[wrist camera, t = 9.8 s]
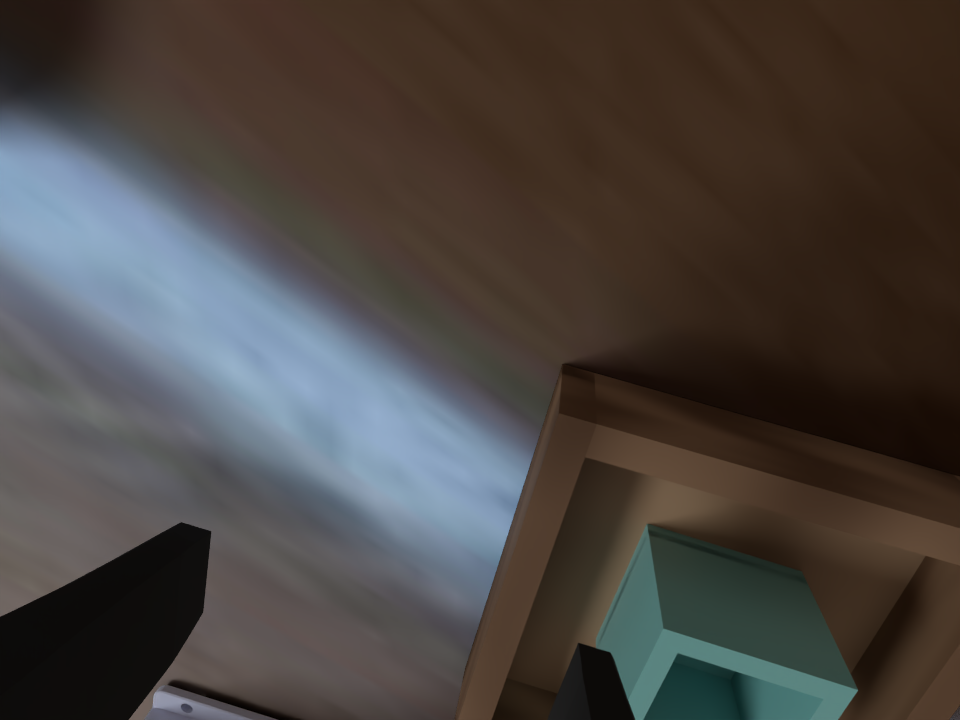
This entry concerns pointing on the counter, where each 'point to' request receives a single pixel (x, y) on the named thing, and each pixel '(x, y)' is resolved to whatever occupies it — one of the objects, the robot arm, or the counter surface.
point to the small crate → (720, 637)
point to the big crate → (720, 543)
